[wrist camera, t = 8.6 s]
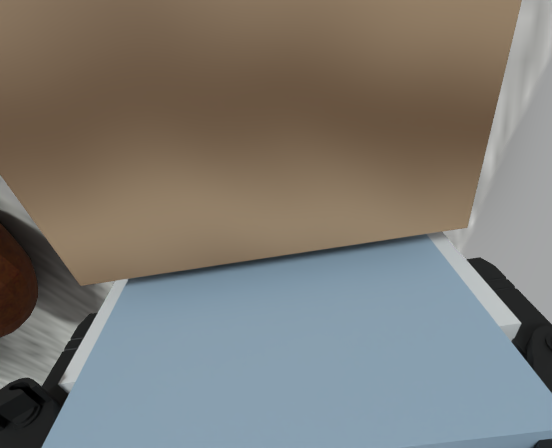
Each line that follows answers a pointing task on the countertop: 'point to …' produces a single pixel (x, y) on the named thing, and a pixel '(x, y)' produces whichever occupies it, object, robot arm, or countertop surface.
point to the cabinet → (244, 124)
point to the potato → (15, 284)
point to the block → (306, 359)
